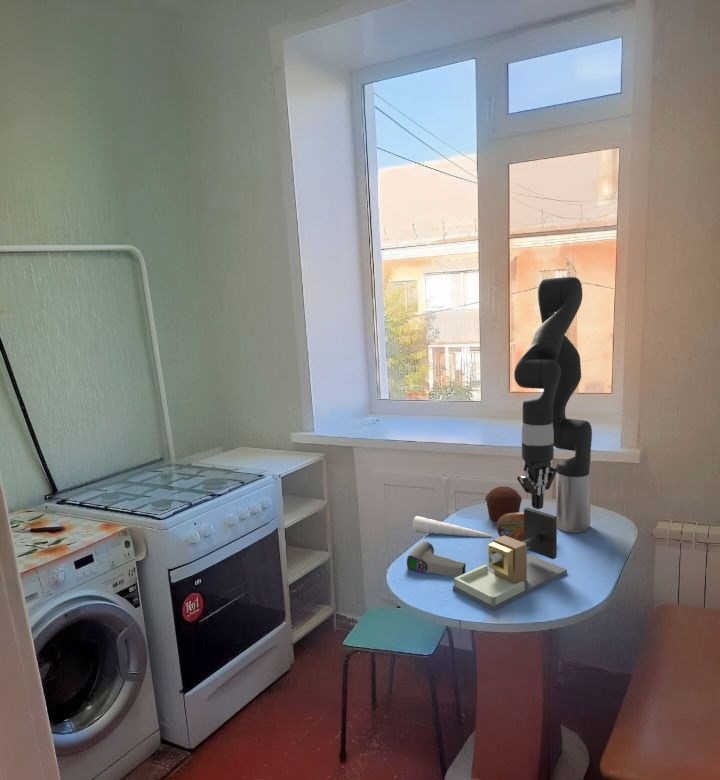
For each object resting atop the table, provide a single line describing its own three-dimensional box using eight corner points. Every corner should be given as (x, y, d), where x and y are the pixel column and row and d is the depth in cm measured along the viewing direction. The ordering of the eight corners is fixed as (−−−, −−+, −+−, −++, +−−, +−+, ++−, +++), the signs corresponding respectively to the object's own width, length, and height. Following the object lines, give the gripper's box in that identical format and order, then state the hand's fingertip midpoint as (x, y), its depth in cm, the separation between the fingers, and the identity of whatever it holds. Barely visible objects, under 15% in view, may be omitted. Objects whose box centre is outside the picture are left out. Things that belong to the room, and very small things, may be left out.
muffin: (498, 509, 199) (497, 480, 197) (528, 516, 191) (528, 486, 190) (478, 520, 191) (477, 490, 189) (509, 528, 183) (509, 497, 181)
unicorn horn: (490, 543, 174) (490, 527, 173) (411, 534, 183) (410, 519, 182) (493, 536, 178) (493, 521, 177) (416, 528, 187) (415, 513, 187)
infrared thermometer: (461, 583, 153) (405, 571, 159) (471, 562, 164) (418, 552, 170) (462, 566, 152) (405, 555, 158) (472, 547, 164) (419, 537, 169)
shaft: (527, 546, 160) (527, 507, 159) (556, 557, 153) (556, 516, 151) (478, 568, 150) (477, 526, 148) (506, 581, 142) (506, 537, 141)
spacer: (494, 564, 151) (494, 542, 150) (513, 573, 146) (513, 549, 145) (488, 567, 150) (488, 544, 149) (507, 575, 145) (507, 552, 144)
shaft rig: (525, 556, 164) (525, 519, 162) (566, 573, 153) (567, 534, 151) (452, 589, 148) (451, 549, 146) (493, 610, 137) (492, 567, 136)
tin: (498, 544, 172) (498, 516, 171) (495, 539, 176) (495, 512, 174) (550, 541, 173) (550, 513, 172) (546, 536, 176) (546, 509, 175)
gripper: (542, 433, 154) (541, 498, 157) (507, 442, 146) (507, 510, 149) (567, 438, 148) (566, 505, 150) (532, 448, 140) (532, 518, 143)
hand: (537, 507), depth 150 cm, fingers closed
